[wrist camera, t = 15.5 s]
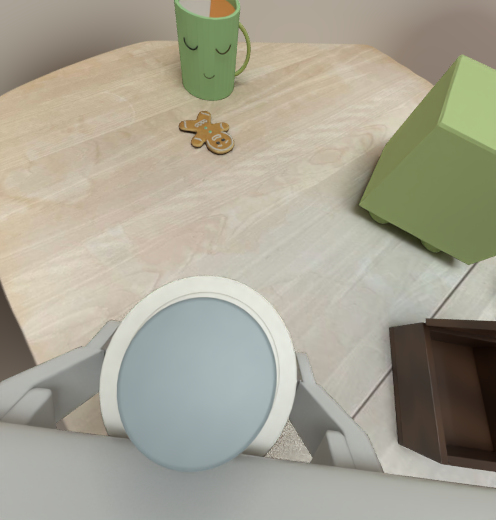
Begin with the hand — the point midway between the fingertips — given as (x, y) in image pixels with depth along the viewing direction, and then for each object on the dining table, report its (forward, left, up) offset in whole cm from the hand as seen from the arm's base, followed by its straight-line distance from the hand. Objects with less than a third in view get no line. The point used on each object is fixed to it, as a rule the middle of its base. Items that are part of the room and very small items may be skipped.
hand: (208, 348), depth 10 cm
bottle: (-1, 0, -7) cm, 7 cm away
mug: (+49, +10, -21) cm, 54 cm away
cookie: (+35, +8, -20) cm, 42 cm away
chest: (0, -30, -20) cm, 37 cm away
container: (+29, -30, -21) cm, 47 cm away
